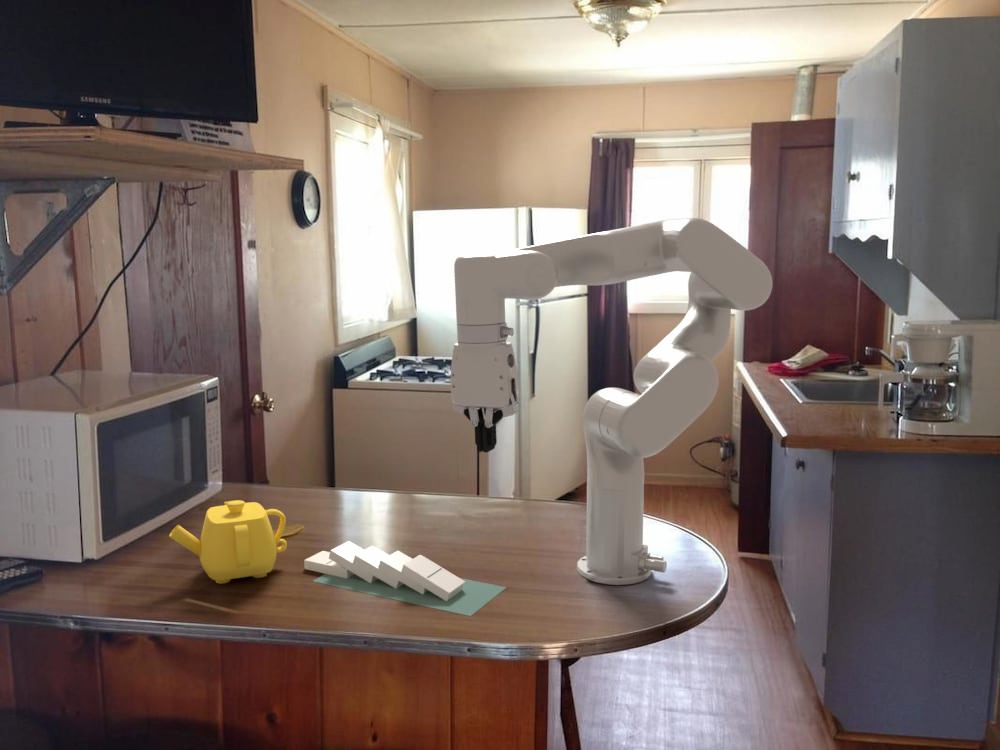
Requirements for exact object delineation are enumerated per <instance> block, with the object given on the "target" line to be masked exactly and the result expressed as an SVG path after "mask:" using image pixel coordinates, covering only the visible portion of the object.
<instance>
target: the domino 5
mask: <svg viewBox="0 0 1000 750" xmlns="http://www.w3.org/2000/svg"><path fill="white" fill-rule="evenodd" d="M401 573H402V574H403V575H405V576H406V577H408V578H410V579H411V580H413V581H414V582H416V583H418V584H419V585H421V586H423V587H424V588H426V589H427V590H429V591H431V592H432V593H434V594H435V595H437V596H439V597H440V598H442V599H443V600H445V601H448V600H449V599H450V598H452V597H453V596H455V595H456V594H457V593H459V592H460V591H461V590H462V589H463V587H464V584H465V581H463V580H462V579H463V578H462V579H460V578H461V577H459V576H457V575H455V574H453V573H452V572H450V571H449V570H447V569H445V568H443V567H442V566H441V565H439V564H437V563H436V562H433V561H432V560H431V559H429V558H428V557H426V556H424V555H422V554H418V555H417V556H415V557H414V558H412V560H410V561H409V562H407V563H405V564H404V565H403V568H402V571H401Z"/></svg>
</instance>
